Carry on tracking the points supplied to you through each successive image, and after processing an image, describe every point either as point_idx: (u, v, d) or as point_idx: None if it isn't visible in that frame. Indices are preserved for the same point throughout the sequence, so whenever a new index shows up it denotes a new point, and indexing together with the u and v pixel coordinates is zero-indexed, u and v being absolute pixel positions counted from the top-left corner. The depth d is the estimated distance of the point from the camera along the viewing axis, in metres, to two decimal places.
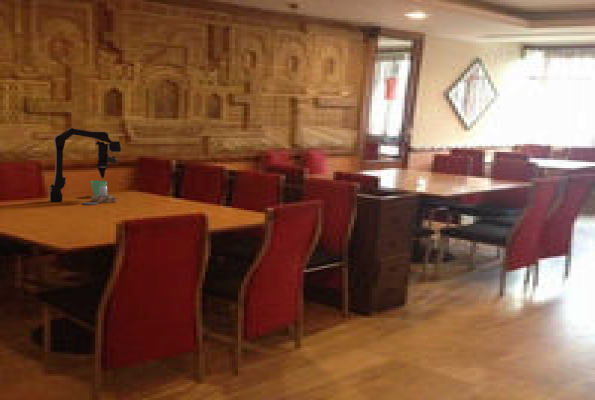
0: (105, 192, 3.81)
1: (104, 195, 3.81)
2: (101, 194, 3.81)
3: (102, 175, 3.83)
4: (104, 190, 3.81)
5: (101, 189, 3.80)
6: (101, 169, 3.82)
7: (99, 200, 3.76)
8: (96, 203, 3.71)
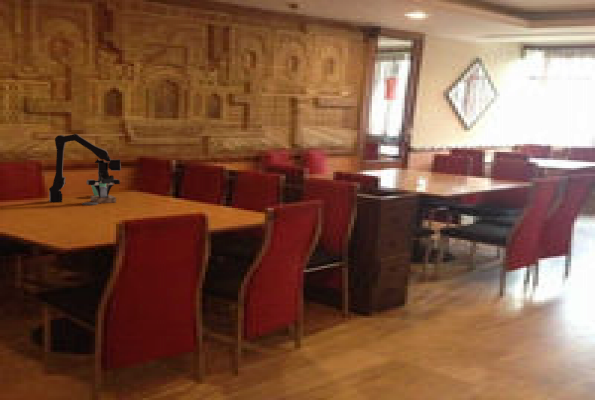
0: (105, 192, 3.81)
1: (104, 195, 3.81)
2: (101, 194, 3.81)
3: (98, 193, 3.81)
4: (104, 190, 3.81)
5: (101, 189, 3.80)
6: (96, 187, 3.81)
7: (99, 200, 3.76)
8: (96, 203, 3.71)
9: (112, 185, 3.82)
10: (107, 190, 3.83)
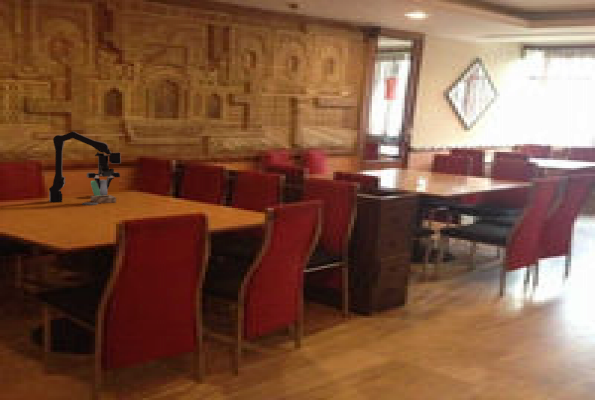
0: (105, 185, 3.81)
1: (104, 188, 3.80)
2: (101, 187, 3.80)
3: (98, 186, 3.80)
4: (104, 183, 3.80)
5: (101, 182, 3.80)
6: (96, 180, 3.80)
7: (99, 200, 3.76)
8: (96, 203, 3.71)
9: (112, 178, 3.81)
10: (107, 183, 3.83)
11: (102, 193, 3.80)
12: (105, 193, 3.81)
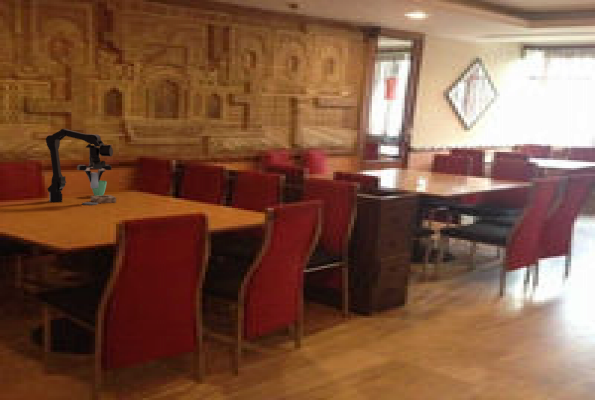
0: (96, 178, 3.72)
1: (95, 181, 3.72)
2: (92, 180, 3.72)
3: (89, 179, 3.72)
4: (95, 176, 3.72)
5: (92, 175, 3.71)
6: (87, 172, 3.72)
7: (99, 200, 3.76)
8: (96, 203, 3.71)
9: (103, 171, 3.73)
10: (98, 176, 3.75)
11: (93, 186, 3.72)
12: (96, 186, 3.73)
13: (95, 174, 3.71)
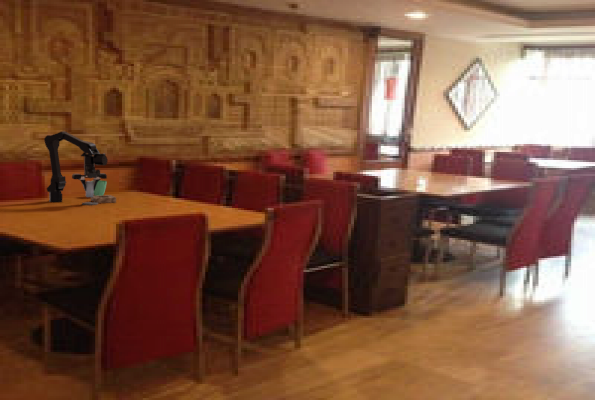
0: (91, 187, 3.69)
1: (90, 190, 3.68)
2: (87, 189, 3.68)
3: (84, 188, 3.68)
4: (90, 185, 3.68)
5: (87, 184, 3.68)
6: (82, 181, 3.68)
7: (99, 200, 3.76)
8: (96, 203, 3.71)
9: (99, 179, 3.69)
10: None
11: (88, 195, 3.68)
12: (91, 195, 3.69)
13: (90, 183, 3.68)
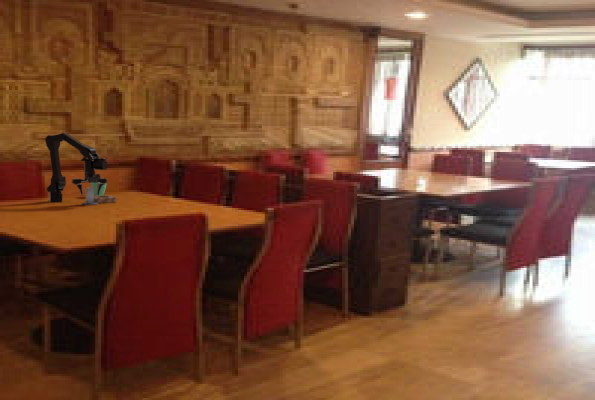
0: (91, 193, 3.69)
1: (90, 196, 3.69)
2: (87, 195, 3.68)
3: (80, 192, 3.68)
4: (90, 191, 3.68)
5: (87, 190, 3.68)
6: None
7: (99, 200, 3.76)
8: (96, 203, 3.71)
9: (103, 184, 3.71)
10: (97, 189, 3.72)
11: (88, 201, 3.69)
12: (91, 201, 3.70)
13: (90, 189, 3.68)
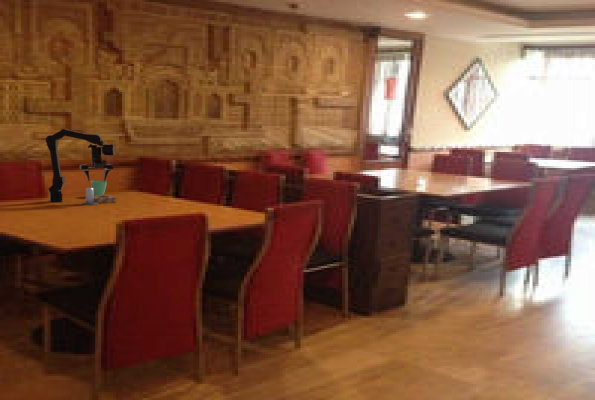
0: (91, 193, 3.69)
1: (90, 196, 3.69)
2: (87, 195, 3.68)
3: (87, 178, 3.76)
4: (90, 191, 3.68)
5: (87, 190, 3.68)
6: (86, 172, 3.76)
7: (99, 200, 3.76)
8: (96, 203, 3.71)
9: (109, 170, 3.79)
10: (104, 175, 3.80)
11: (88, 201, 3.69)
12: (91, 201, 3.70)
13: (90, 189, 3.68)
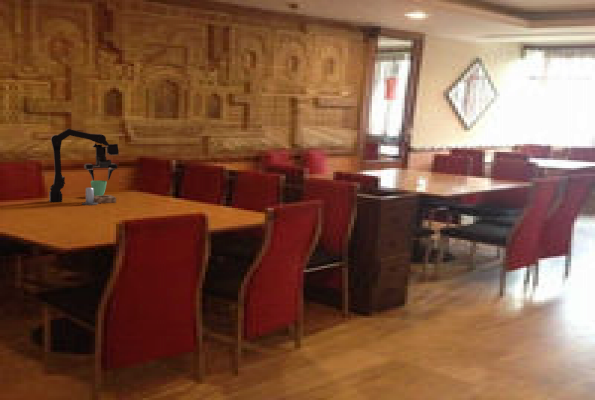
0: (91, 193, 3.69)
1: (90, 196, 3.69)
2: (87, 195, 3.68)
3: (92, 177, 3.83)
4: (90, 191, 3.68)
5: (87, 190, 3.68)
6: None
7: (99, 200, 3.76)
8: (96, 203, 3.71)
9: (113, 169, 3.86)
10: (108, 174, 3.88)
11: (88, 201, 3.69)
12: (91, 201, 3.70)
13: (90, 189, 3.68)
